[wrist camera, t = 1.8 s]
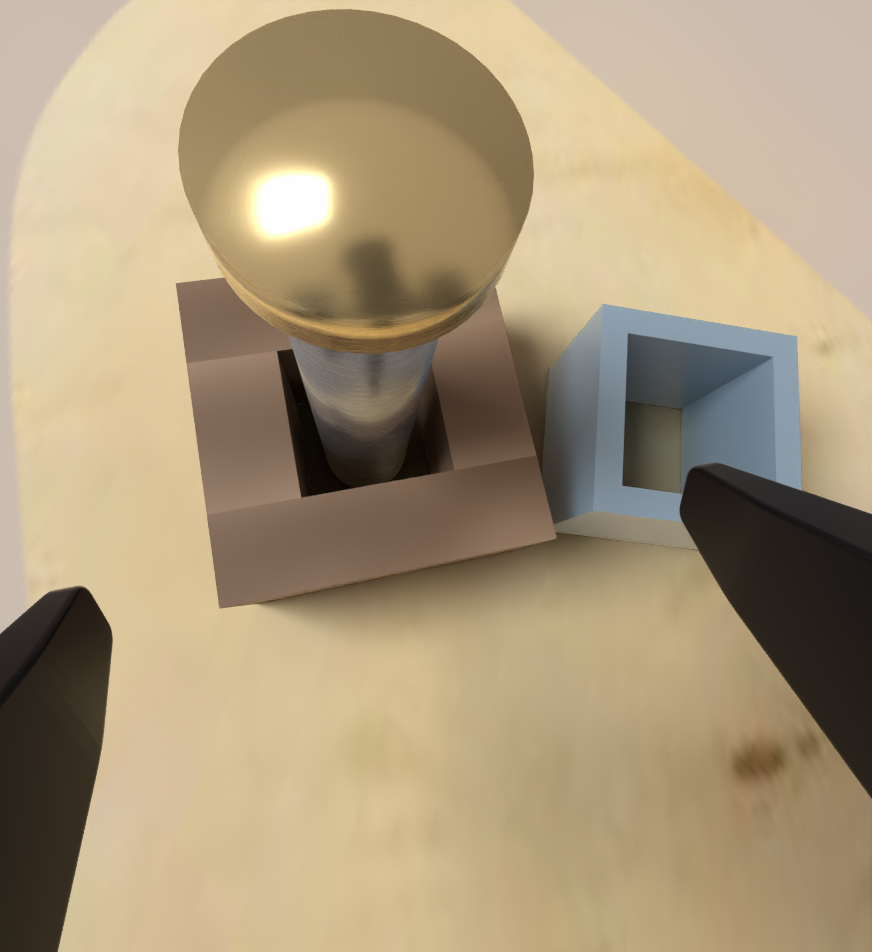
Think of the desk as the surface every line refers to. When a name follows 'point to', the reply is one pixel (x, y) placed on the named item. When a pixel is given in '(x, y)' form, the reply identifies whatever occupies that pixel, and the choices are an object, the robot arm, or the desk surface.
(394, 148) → the pin
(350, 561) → the hitch block
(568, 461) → the holder
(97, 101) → the desk surface
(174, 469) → the desk surface
